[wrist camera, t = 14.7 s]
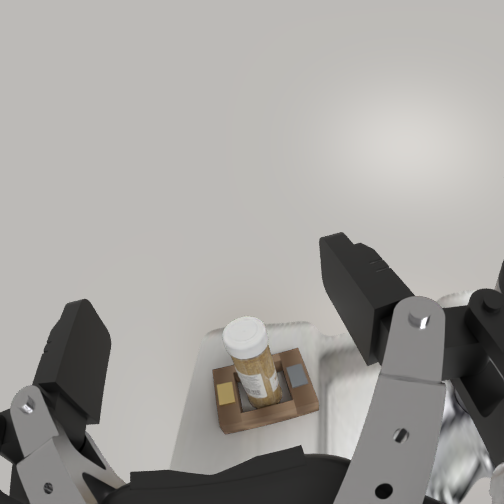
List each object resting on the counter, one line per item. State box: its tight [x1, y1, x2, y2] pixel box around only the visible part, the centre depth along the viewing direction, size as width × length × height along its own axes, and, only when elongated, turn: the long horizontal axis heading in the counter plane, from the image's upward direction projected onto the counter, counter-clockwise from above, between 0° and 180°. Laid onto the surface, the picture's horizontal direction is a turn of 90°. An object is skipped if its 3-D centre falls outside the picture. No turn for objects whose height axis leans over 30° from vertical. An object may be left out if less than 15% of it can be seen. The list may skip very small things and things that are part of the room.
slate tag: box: [286, 363, 308, 388], centre depth 37 cm, size 2×3×1 cm, turn 10°
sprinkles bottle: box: [222, 316, 282, 409], centre depth 34 cm, size 5×5×14 cm
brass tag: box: [217, 382, 236, 406], centre depth 36 cm, size 2×3×1 cm, turn 10°
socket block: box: [212, 348, 319, 434], centre depth 37 cm, size 12×9×2 cm
